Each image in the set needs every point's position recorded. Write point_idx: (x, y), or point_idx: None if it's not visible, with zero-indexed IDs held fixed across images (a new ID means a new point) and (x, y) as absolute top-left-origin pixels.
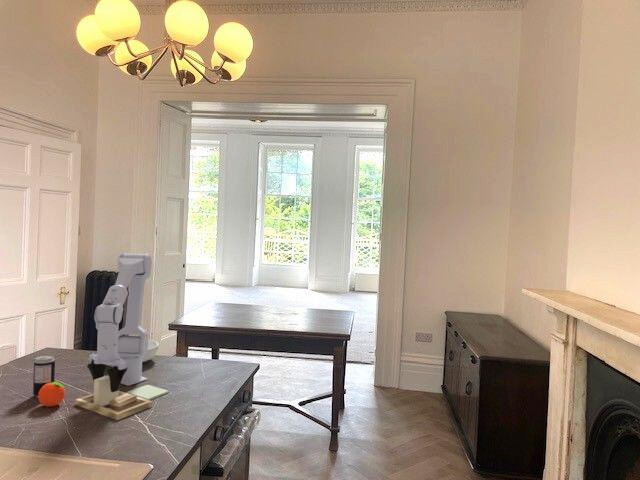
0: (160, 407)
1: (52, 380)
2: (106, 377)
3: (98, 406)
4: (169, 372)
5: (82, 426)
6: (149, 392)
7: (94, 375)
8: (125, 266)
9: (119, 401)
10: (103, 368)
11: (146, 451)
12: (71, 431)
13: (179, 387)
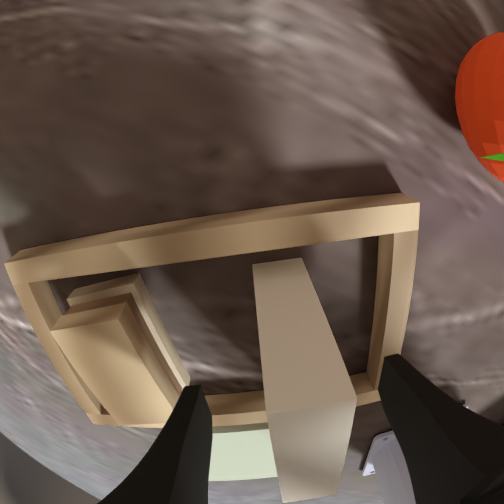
0: (78, 412)
1: None
2: (306, 464)
3: (173, 248)
4: (351, 500)
5: (48, 80)
6: (232, 458)
7: (431, 418)
8: None
9: (71, 343)
10: (419, 490)
11: None
12: (39, 23)
13: (221, 494)
